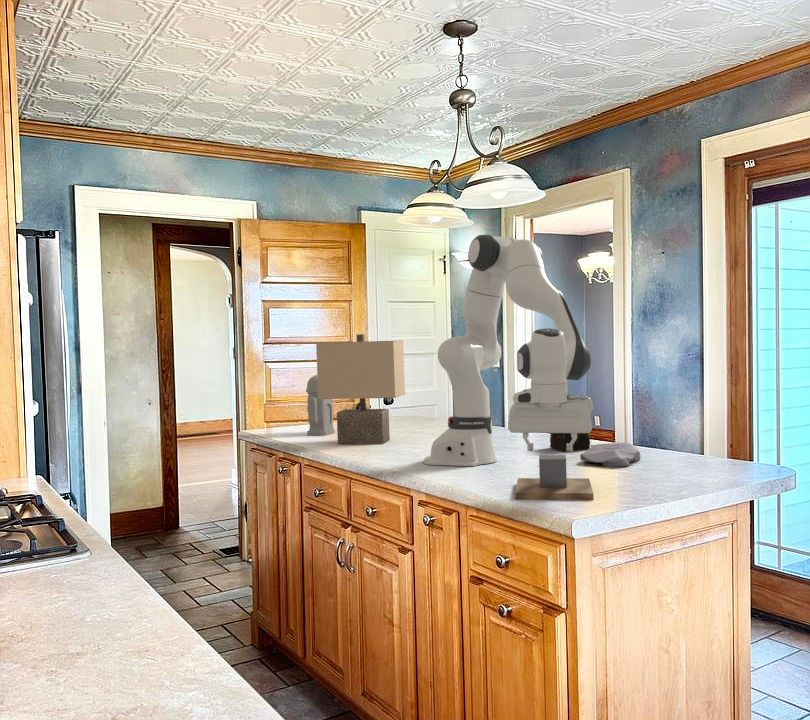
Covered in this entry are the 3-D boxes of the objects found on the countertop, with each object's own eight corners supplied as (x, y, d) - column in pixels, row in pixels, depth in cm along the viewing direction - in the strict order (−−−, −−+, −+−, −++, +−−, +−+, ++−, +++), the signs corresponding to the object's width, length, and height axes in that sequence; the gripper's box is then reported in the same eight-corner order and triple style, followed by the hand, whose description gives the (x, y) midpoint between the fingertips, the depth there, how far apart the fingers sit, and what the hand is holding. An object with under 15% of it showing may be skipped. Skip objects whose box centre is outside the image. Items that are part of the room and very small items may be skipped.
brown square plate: (515, 499, 175) (514, 473, 175) (518, 484, 193) (517, 461, 192) (593, 499, 172) (592, 474, 171) (589, 484, 189) (588, 460, 189)
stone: (626, 469, 209) (626, 451, 209) (576, 466, 218) (575, 449, 218) (646, 458, 226) (646, 442, 226) (598, 456, 234) (598, 440, 234)
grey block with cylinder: (539, 487, 180) (539, 459, 179) (540, 480, 189) (539, 453, 189) (566, 488, 178) (566, 459, 178) (565, 480, 188) (565, 453, 187)
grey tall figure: (315, 431, 319) (313, 374, 319) (338, 431, 317) (336, 373, 316) (302, 436, 305) (300, 375, 304) (326, 436, 303) (324, 375, 302)
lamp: (319, 445, 276) (315, 335, 275) (334, 439, 293) (330, 335, 292) (396, 445, 270) (393, 332, 269) (406, 438, 288) (403, 332, 286)
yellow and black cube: (563, 452, 242) (562, 421, 242) (549, 448, 252) (548, 419, 252) (591, 450, 245) (590, 420, 245) (575, 446, 255) (575, 417, 255)
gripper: (592, 393, 182) (592, 449, 183) (508, 394, 187) (509, 448, 187) (593, 396, 176) (594, 453, 177) (507, 396, 180) (507, 452, 181)
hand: (549, 451), depth 182 cm, fingers open, 8 cm apart
